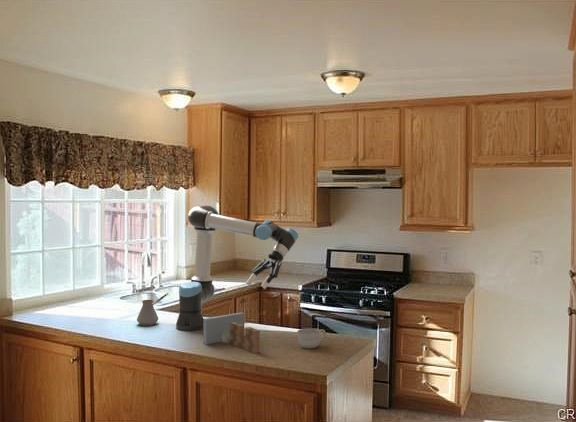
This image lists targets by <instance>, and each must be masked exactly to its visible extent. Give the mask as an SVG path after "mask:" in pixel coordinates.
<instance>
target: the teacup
mask: <svg viewBox="0 0 576 422" xmlns="http://www.w3.org/2000/svg"><path fill="white" fill-rule="evenodd" d="M321 333H323V334H322V335H321ZM326 335H327V332H326V330H325V329H319V328H313V327H312V328H301V329H298V330H297V342H298V344H299V346H300V347H301V348H302V349H315V348H317V347H318V346H320V343H321V341H322V340H323V339H324V338H325V337H326Z"/></svg>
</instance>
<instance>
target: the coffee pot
mask: <svg viewBox="0 0 576 422" xmlns="http://www.w3.org/2000/svg"><path fill="white" fill-rule="evenodd" d="M169 296H171V294H170V293H169V292H167V293H165V294H163V295H162V296H161V297H159V298H158V299H157V300H156V301H154V299H142V300H141V303H142V306H141V309H140V311H139V313H138V316H137V317H136V321H137V323H138V324H139V325H140V326H143V327H144V326H146V327H149V326H154V325H156V323H157V322H158V321H159V316H158V314H157V312H156V309H155V306H154V305H156V304H158V303H159V302H160V301H162V300H163V299H164V298H165V297H169Z"/></svg>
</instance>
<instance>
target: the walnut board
mask: <svg viewBox="0 0 576 422" xmlns="http://www.w3.org/2000/svg"><path fill="white" fill-rule="evenodd" d="M260 331H261V330H260V329H257V328H253V327H251V326H247V327H245V324H244V325H242V324H239V323H236V322H232V323H230V340H229V343H230V345H233V346H235V347H236V348H237V347H238V348H240V349H243V350H245V351H248V352H251V353H253V354H258V353H260V345H261V344H260V335H261V333H260Z"/></svg>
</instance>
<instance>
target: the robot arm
mask: <svg viewBox="0 0 576 422" xmlns="http://www.w3.org/2000/svg"><path fill="white" fill-rule="evenodd" d="M188 221H189V223H190V225H191V226H193V227H194V231H195V232H196V238H195V239H196V241H195V243H196V244H195V258H194V262H195V263H194V275H193V276H192V277H191V279H190V280H191V281H188V282H184V283H182V284H180V286H179V291H178V294H179V299H178V300H179V302H178V304H179V307H178V308H179V311H178V312H179V313H178V317H177V319H176V323H175V328H176V330H181V331H198V330H201V329H203V318H204V315H203V313H202V308H203V307H202V305H203V303H207V302H209V301H210V300H211V299H212V298H213V296H214V295H215V292H216V291H215V286H214V284H213V278H212V277H211V264H212V263H211V262H212V245H213V234H214V233H215V232H216V230H220V231H223V232H224V231H225V232H230V233H233V234H237V235H243V236H248V237H253V238H257V239H259V240H261V241H266V240H268V239H272V240H274V241H275V242H277V243H276V244H275V245H274V246H273V248H272V250H270V252H269V253H268V258H267V259H266V258H263V259H262V260H261V261H260V262H259V263H258V264H257V265H256V266H255V267H254V268H253V269H251V270H250V272H251V275H250V276H249V278H248V279H247V280H246V282H245V284H246V285H247V286H248V287H251V286H252V284H253V282H254V281H255V279H256V278H257V276H258V275H259V274H260V273H262V272H263V271H265V270H268V269H269V274H268V275H267V276H266V278H265V279H264V280H263V282H262V283H261V285H260V286H261V287H262V289H264V290H266V289H267V287H268V286H269V285H270V283H271V282H272V280H274V279H277V278H278V275H279V272H280V269H281V266H282V265H283V264H282V261H283V260H284V258H285V257H286V256H287V254H288V253H289V252H290V250H291V249H292V247H293V246H294V244H295V243H296V242H297V239H298V238H299V233H298V232H297V230H295V229H293V228H291V227H287V228H286V229H284V228H282V227H281V226H279V225H278V224H276V223H274V222H273V221H270V220H269V219H266V220H265V221H263V223H260V222H255V221H250V220H245V219H239V218H235V217H230V216H227V215H221V214H220V213H219V211H218V210H217V208H215V207H214V206H211V205H198V206H197V205H196V206H194V207H192V208H191V209H190V210H189V211H188Z"/></svg>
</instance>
